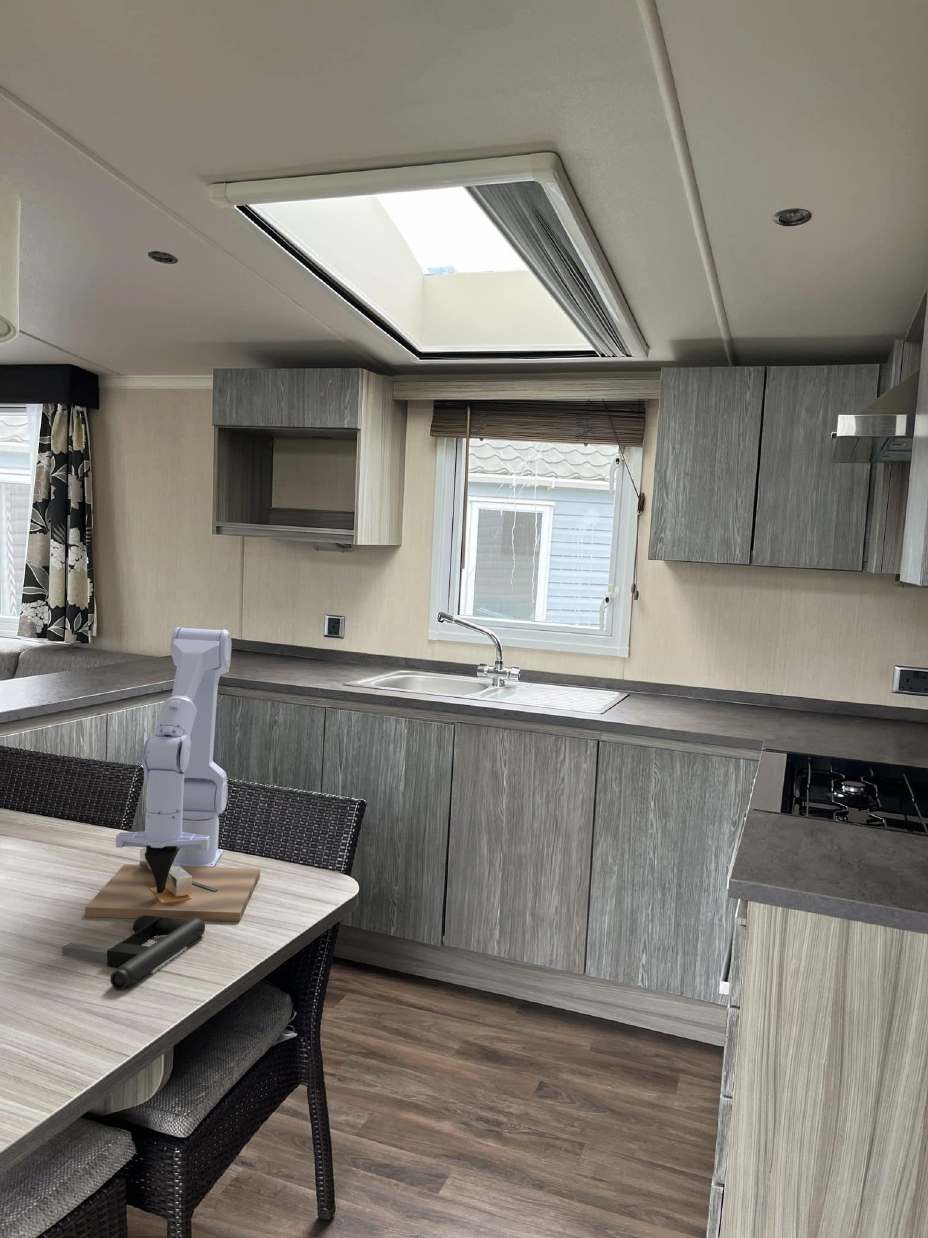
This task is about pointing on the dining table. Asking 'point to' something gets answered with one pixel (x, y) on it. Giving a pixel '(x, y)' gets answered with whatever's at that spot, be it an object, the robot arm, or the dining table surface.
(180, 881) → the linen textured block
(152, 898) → the board
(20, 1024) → the dining table surface
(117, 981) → the door handle
